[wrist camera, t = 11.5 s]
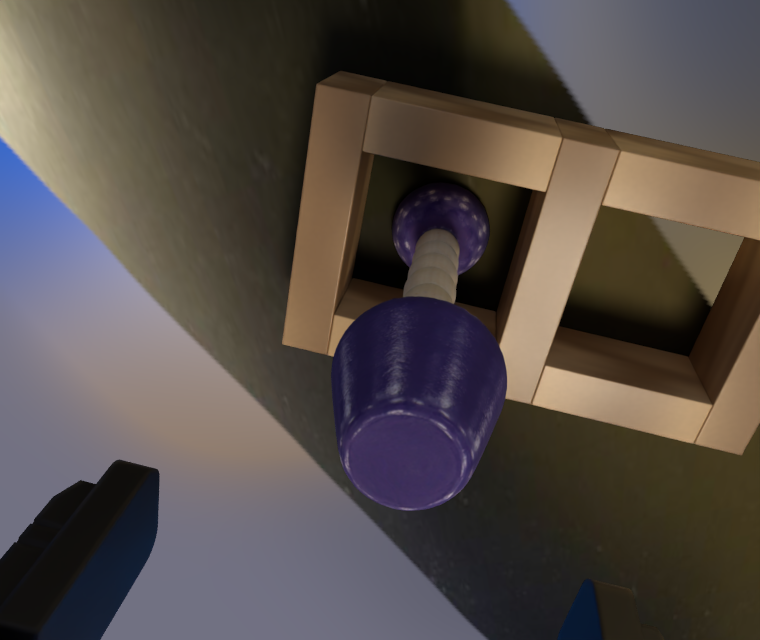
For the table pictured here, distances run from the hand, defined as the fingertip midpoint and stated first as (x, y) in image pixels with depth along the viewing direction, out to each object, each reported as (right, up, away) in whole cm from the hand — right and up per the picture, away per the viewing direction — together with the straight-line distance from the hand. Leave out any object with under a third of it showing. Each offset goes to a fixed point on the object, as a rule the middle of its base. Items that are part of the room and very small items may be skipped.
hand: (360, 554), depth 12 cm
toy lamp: (+3, +9, +17) cm, 19 cm away
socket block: (+7, +7, +17) cm, 20 cm away
